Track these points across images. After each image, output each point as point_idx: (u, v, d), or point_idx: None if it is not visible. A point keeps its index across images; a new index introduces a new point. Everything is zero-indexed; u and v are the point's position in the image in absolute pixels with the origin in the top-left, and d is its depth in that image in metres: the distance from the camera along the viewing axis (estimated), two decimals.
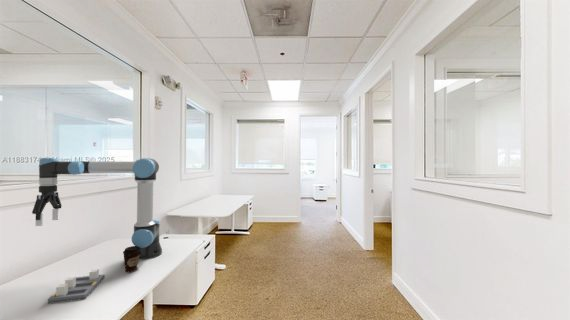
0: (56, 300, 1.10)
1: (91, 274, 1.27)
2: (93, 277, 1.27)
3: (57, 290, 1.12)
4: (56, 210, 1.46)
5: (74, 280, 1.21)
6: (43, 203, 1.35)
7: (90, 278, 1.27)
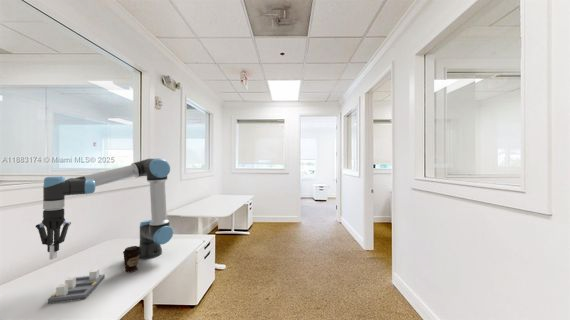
0: (56, 300, 1.10)
1: (91, 274, 1.27)
2: (93, 277, 1.27)
3: (57, 290, 1.12)
4: None
5: (74, 280, 1.21)
6: None
7: (90, 278, 1.27)
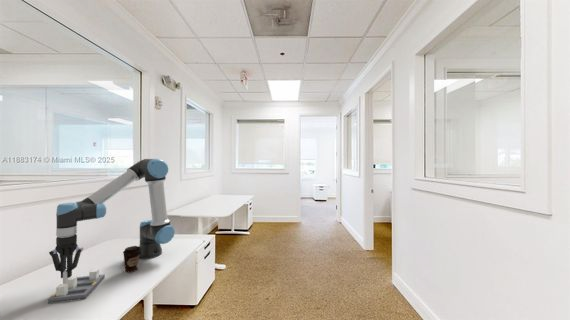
0: (56, 300, 1.10)
1: (91, 274, 1.27)
2: (93, 277, 1.27)
3: (57, 290, 1.12)
4: None
5: (75, 280, 1.21)
6: None
7: (90, 278, 1.27)
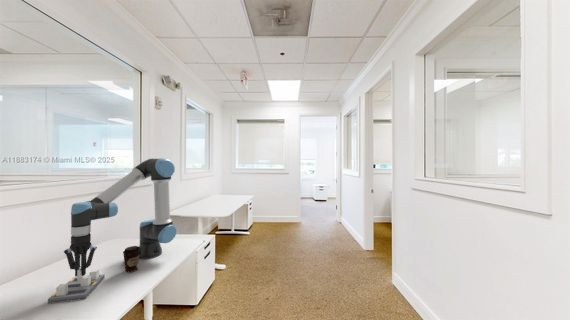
0: (56, 300, 1.10)
1: (91, 274, 1.27)
2: (93, 277, 1.27)
3: (57, 290, 1.12)
4: None
5: (89, 278, 1.22)
6: None
7: None
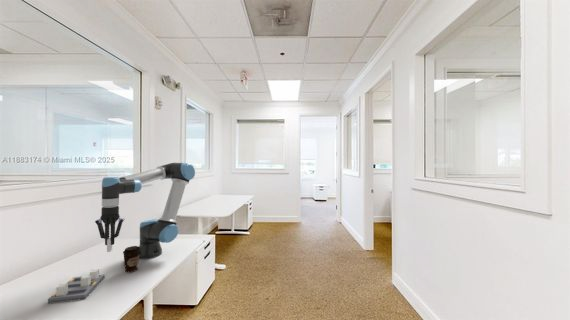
0: (56, 300, 1.10)
1: (91, 274, 1.27)
2: (93, 277, 1.27)
3: (57, 290, 1.12)
4: None
5: (89, 278, 1.22)
6: None
7: None
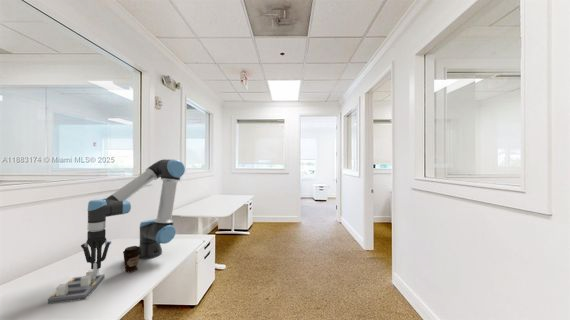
0: (56, 300, 1.10)
1: (88, 274, 1.27)
2: None
3: (57, 290, 1.12)
4: None
5: (89, 278, 1.22)
6: None
7: None
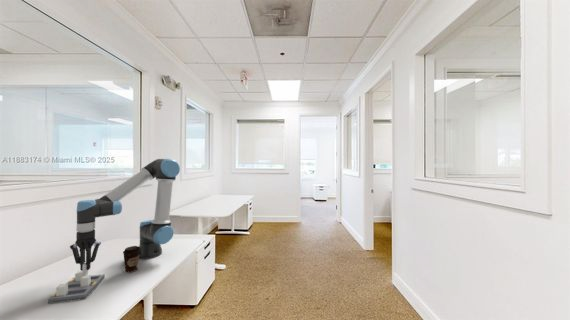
0: (56, 300, 1.10)
1: (77, 275, 1.25)
2: (79, 279, 1.26)
3: (57, 290, 1.12)
4: None
5: (89, 278, 1.22)
6: None
7: (76, 280, 1.25)
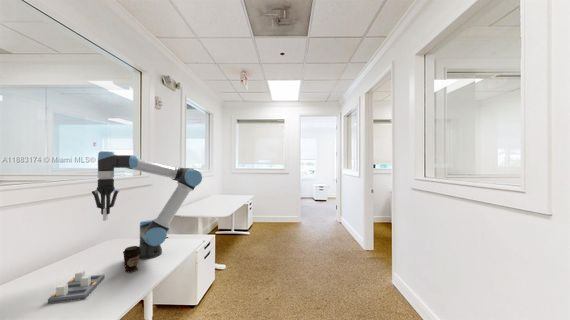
0: (56, 300, 1.10)
1: (77, 275, 1.25)
2: (79, 279, 1.26)
3: (57, 290, 1.12)
4: None
5: (89, 278, 1.22)
6: None
7: (76, 280, 1.25)
